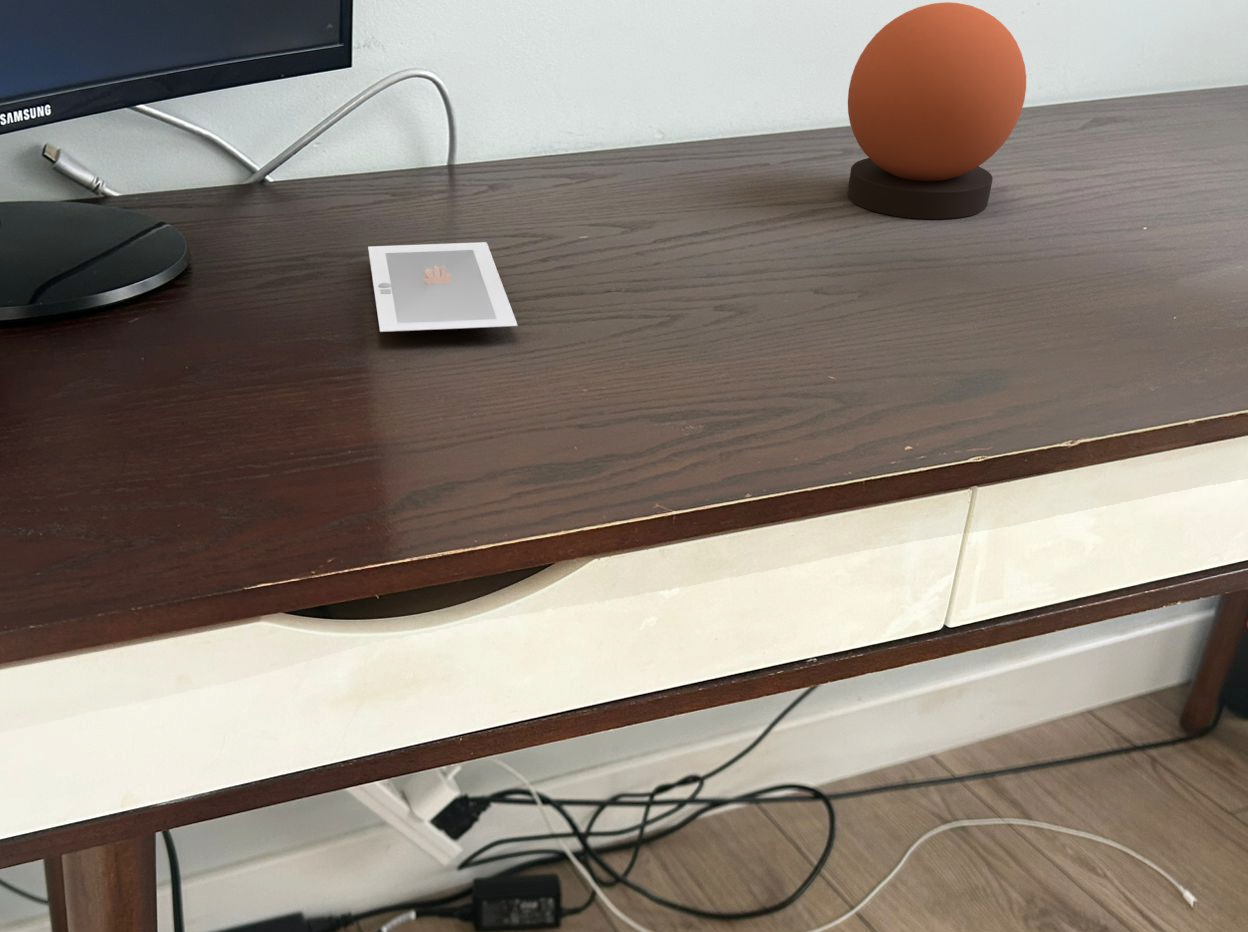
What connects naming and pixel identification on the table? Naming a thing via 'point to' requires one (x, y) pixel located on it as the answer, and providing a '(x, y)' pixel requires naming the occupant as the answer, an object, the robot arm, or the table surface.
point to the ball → (933, 111)
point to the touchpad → (438, 287)
